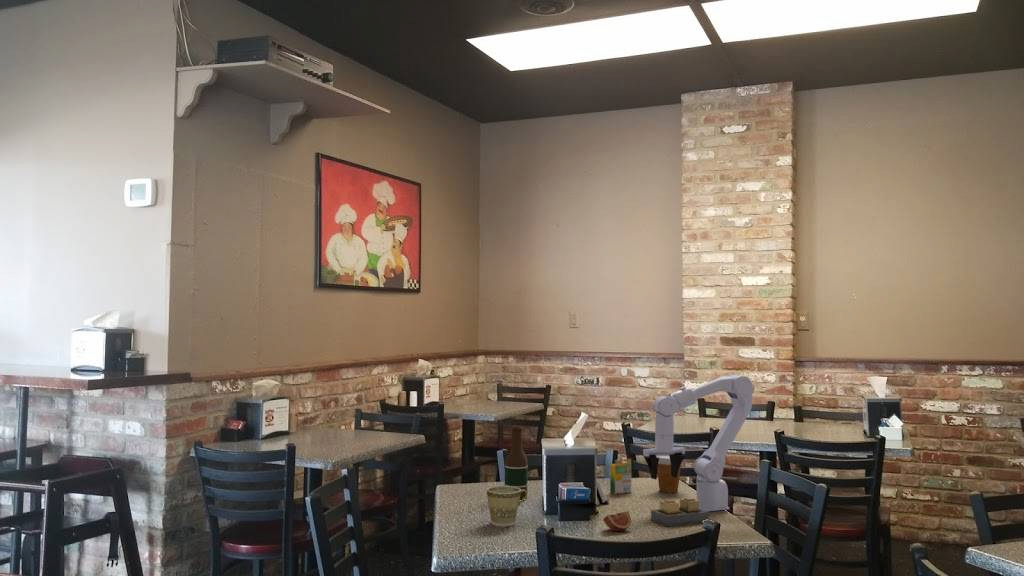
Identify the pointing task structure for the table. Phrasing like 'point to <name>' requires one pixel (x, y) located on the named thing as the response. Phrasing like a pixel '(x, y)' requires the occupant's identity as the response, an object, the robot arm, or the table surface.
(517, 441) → the beer bottle
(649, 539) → the table surface
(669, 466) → the disposable coffee cup
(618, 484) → the crayon box
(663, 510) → the beige small block
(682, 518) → the tray
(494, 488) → the ceramic cup
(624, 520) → the fruit slice
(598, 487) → the hinge
